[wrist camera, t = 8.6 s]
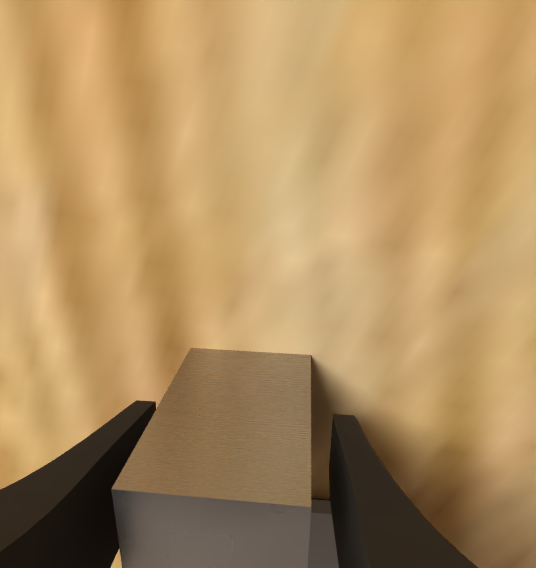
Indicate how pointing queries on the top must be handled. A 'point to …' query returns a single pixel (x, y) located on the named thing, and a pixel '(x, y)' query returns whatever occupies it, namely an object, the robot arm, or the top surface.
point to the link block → (222, 467)
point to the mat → (322, 536)
